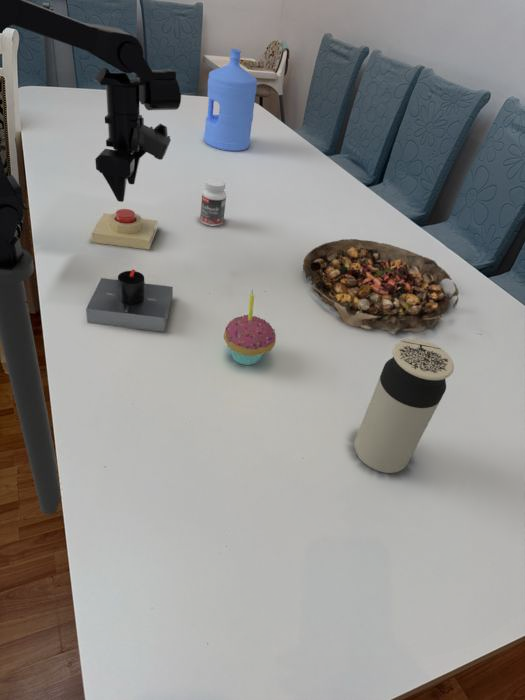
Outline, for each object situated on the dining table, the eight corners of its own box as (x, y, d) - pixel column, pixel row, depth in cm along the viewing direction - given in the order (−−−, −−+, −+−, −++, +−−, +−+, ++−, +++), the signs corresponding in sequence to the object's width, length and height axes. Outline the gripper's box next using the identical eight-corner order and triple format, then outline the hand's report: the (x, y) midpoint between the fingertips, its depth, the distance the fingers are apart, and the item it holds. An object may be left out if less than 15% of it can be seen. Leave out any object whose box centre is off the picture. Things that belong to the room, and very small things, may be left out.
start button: (114, 223, 106) (113, 215, 105) (118, 215, 109) (118, 207, 108) (133, 225, 106) (132, 218, 105) (136, 217, 110) (136, 210, 109)
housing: (92, 242, 106) (91, 224, 103) (104, 222, 113) (103, 205, 111) (149, 249, 107) (149, 232, 104) (157, 229, 115) (157, 212, 112)
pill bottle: (196, 223, 120) (199, 183, 114) (204, 214, 124) (207, 175, 118) (219, 228, 119) (223, 188, 113) (226, 219, 124) (230, 180, 118)
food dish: (406, 364, 90) (419, 330, 85) (268, 286, 105) (273, 254, 100) (479, 294, 112) (493, 264, 107) (356, 238, 127) (363, 210, 122)
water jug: (251, 141, 176) (263, 51, 159) (246, 155, 164) (257, 58, 146) (208, 133, 176) (215, 42, 159) (199, 146, 164) (205, 49, 146)
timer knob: (142, 305, 86) (141, 284, 83) (116, 302, 85) (115, 281, 83) (146, 291, 89) (146, 270, 86) (121, 288, 89) (120, 267, 86)
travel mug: (406, 481, 68) (457, 387, 57) (350, 464, 69) (389, 367, 58) (408, 440, 74) (455, 347, 63) (357, 424, 75) (393, 330, 64)
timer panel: (87, 323, 85) (85, 308, 83) (102, 291, 92) (101, 277, 90) (164, 332, 86) (164, 317, 84) (172, 300, 93) (172, 285, 92)
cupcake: (215, 343, 85) (222, 284, 78) (261, 338, 88) (271, 280, 81) (230, 376, 79) (239, 315, 72) (279, 369, 82) (292, 310, 75)
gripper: (157, 131, 85) (157, 217, 94) (175, 104, 99) (173, 181, 109) (91, 121, 84) (97, 209, 94) (119, 96, 98) (122, 173, 108)
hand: (126, 192), depth 101 cm, fingers open, 9 cm apart
